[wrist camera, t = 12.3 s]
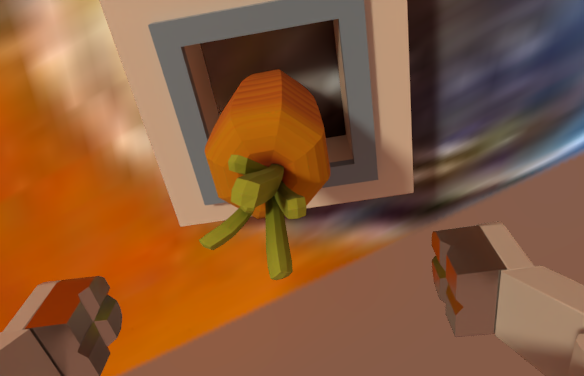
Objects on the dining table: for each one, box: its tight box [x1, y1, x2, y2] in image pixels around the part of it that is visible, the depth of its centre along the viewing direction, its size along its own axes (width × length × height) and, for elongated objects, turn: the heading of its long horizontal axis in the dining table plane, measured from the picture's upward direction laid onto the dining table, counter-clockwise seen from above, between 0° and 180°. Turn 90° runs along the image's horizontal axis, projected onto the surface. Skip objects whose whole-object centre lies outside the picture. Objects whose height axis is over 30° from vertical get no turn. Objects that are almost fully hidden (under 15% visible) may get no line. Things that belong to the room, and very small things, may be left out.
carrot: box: [199, 69, 330, 280], centre depth 19 cm, size 5×5×15 cm
